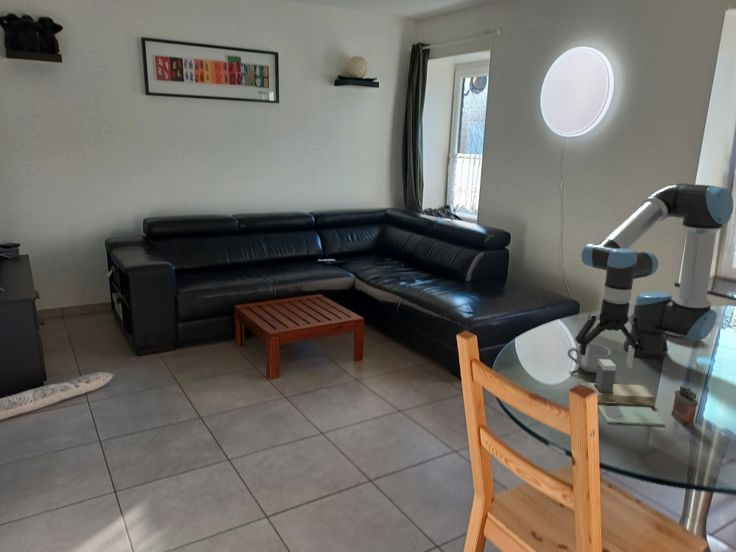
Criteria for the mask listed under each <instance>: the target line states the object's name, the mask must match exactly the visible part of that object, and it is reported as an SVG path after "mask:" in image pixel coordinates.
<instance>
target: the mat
mask: <svg viewBox="0 0 736 552" xmlns="http://www.w3.org/2000/svg"><path fill="white" fill-rule="evenodd" d="M598 405H599V410H598V412H599V413H600V414H601V416H602V418H603V419H604V418H605V419H604V421H605V422H606V423H607V424H613V423H612V422H617V423H622V425H636V426H638V425H639V426H656V427H657V426H660V427H661V426H662V427H665V425H666V424H665V422H664V421H663V420H662V419H661V417H660V416H658V415H657V413H656V412H655V411H654V410H653V409H652V408H651V406H640V405H619V406H620V407H619V409H620V411H621V413H620V415H619V416H617V418H616V419H612V418H611V417H608V416H607V415H606V413H605V409H606V405H607V404H598Z"/></svg>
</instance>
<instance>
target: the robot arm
mask: <svg viewBox="0 0 736 552" xmlns="http://www.w3.org/2000/svg"><path fill="white" fill-rule="evenodd" d="M733 210H734V197H733V195H732V193H731V191H730V190H729V189H728V188H726V187H722V186H715V185H707V184H692V183H691V184H690V183H679V182H678V183H673V184H669V185H667V186H663V187H661V188H659V189H658V190H655V191H654V192H652V193H651V194H649V195H648V196H647V197H645V198H644V199H643V200H642V201H641V202H640V206H639V208H637V209H636V210H635V211H634V212H633V213H632V214H631V215H630V216H628V217H627V218H626V219H625V220H624V221H623V222H621V224H619V226H617V227H616V228H615V229H614V230H613V231H612V232H611V233H609V234H608V235H607V236H606V237H605V238H604V239H603V240H602V241H600V242H599V243H598V244H597V243H587V244H586V245H585V246H584V247H583V249H582V250H581V254H580V255H581V256H580V257H581V262H582V263H583V265H585V266H587V267H590V268H594V269H598V270H603V271H606V272H605V273H606V275H605V281H604V282H605V283H604V287H603V292H602V293H603V295H602V298H603V299H602V300H601V308H600V313H599V315H598V314H594V313H593V312H591V313H589V315H588V319H587V321H586V322H585V324H584V325H583V327H582V328H581V330H579V332H578V334H577V335H576V337H575V338H574V340H575V342H576V343H577V344H578V345H579V344H581V347H580V354H581V355H582V362H581V363H582V364H583V365H584V366H587V360H588V353H589V346H588V344H589V343H592V341H594V339H595V338H597V337H598V336H599V335H600V334H601V333H602V332H605V330H606V331H617V332H619V330H621V332H622V334H623V335H624V336H625V340H624V342H623V349H624V351H625V352H627V355H626V361H625V366H626V367H627V368H628V369H630V370H631V369H633V363H634V358H635V359H636V358H637V357H640V358H644V359H645V358H646V359H652V360H653V359H664V358H666V357H668V352H669V348H668V342H667V338H666V333H665V332H666V331H667V332H670V333H673V334H677V335H680V337H683V338H686V339H691V340H695V341H702V340H704V339H706V338H707V336H709V334H711V332H712V330H713V328H714V327H715V324H716V322H717V312H716V311H715V310H714V309H711V306H712V302H711V301H710V300H709V299H708V298H707V297H708V290H709V287H710V286H709V285H710V278H711V271H712V265H713V259H714V251H715V243H716V237H717V232H718V231H719V230H721V229H722V228H723V225H724V224H727V223H728V222H729V221H730V220H731V217H732V215H733ZM667 218H678V219H679V218H680V219H683V220H682V226H683V227H684V228H685V229H686V235H685V236H686V237H685V244H684V251H683V257H682V258H683V259H682V265H681V267H682V268H681V275H680V283H679V290H678V295H676V296H675V297H673V298H672V295H671V294H669V293H668V292H667V293H666V292H658V291H648V292H646V291H645V292H640V293H639V294H638V295H636V298H635V301H634V304H633V305H634V307H633V308H634V309H633V313H632V314H633V315H631V316H628V315H629V311H630V310H629V309H630V301H631V298H632V297H631V296H632V290H633V285H634V284H633V283H634V280H635V279H641V278H646V277H650V276H651V275H653V274H655V273H656V272H657V270H658V268H659V260H658V258H657V257H656V255H655V254H654V253H652V252H649V251H640V252H636V250H634V249H630V247H632V246H633V245H634V244H635V243H636V242H637V241H638V240H639V239H641V238H642V236H644V235H645V234H646V233H647V232H648V231H650V229H652V228H653V227H654V226H655V225H656V224H657V223H660V222H663V221H664V220H666V219H667ZM598 321H599V322H598ZM596 322H598V323H597V325H596V326H595V327H594V324H596ZM627 323H629V324H630V325H631V329H630V331H629V330H628V328H627V327H626V326H625V325H626V324H627ZM593 327H594V328H593ZM591 329H592V330H591Z"/></svg>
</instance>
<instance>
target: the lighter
mask: <svg viewBox="0 0 736 552" xmlns="http://www.w3.org/2000/svg"><path fill="white" fill-rule="evenodd" d="M696 398H697V393H696V392H695V391H692V390H691V388H690V387H686V386H685V385H680V386H679V389H678V390H677V389H676V390H675V391H674V400H673V407H672V410H671V412H670V414H671V416H672V417H673V418H674V419H675V420H676V421H677V422H679V423H680V424H681V425H682V426H685V427H687V428H688V427H689V428H693V427H694V424H695V422H694V421H695V415H696V410H697V406H698V404H699V401H698V400H696Z"/></svg>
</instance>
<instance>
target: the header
mask: <svg viewBox="0 0 736 552" xmlns="http://www.w3.org/2000/svg"><path fill="white" fill-rule="evenodd" d="M580 385H585V386H587V387H590V388H592V389H594V390H596V391H597V393H598V399H599V403H598V404H601V405H604V404H603V403H605V402H617V403H621V404H620V405H623V404H625V405H624V406H644V407H654V403H655V399H656V398H655V395H654V394H653V393H652V392H651V391H650V390H649V389H648V388H647V387H646V386H645V385H643V384H621V383H620V384H619V383H614V385H613V392H612V393H599V391H598V390H597V389H596V387H595V382H579V386H580ZM627 404H628V405H627Z"/></svg>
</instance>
